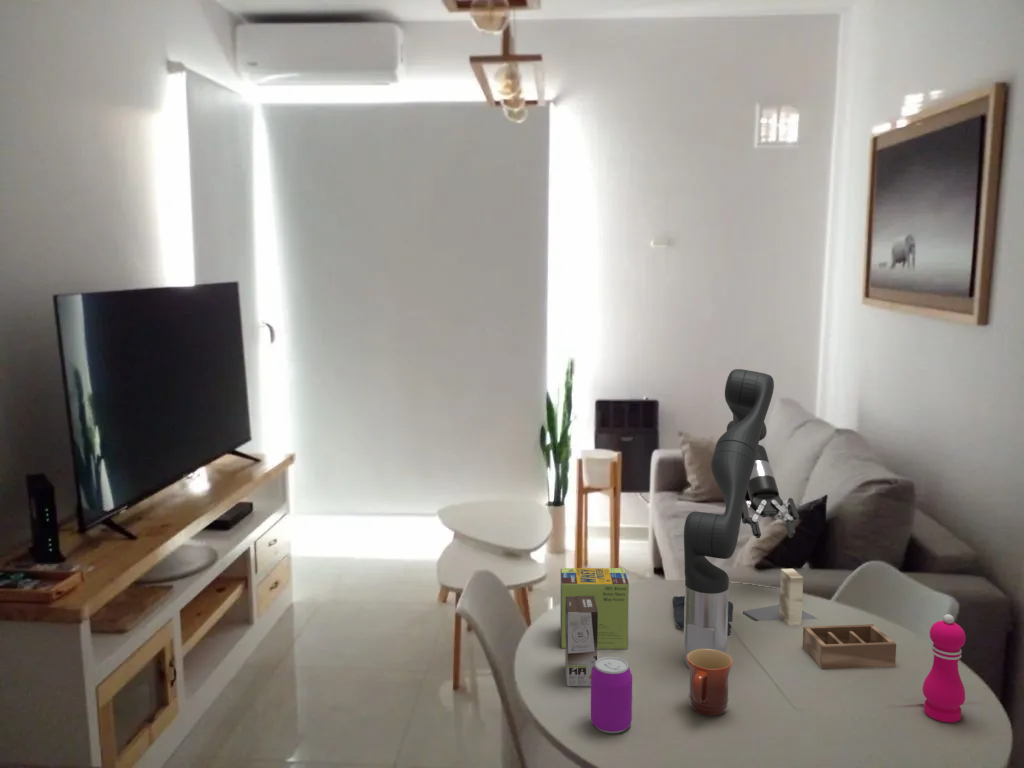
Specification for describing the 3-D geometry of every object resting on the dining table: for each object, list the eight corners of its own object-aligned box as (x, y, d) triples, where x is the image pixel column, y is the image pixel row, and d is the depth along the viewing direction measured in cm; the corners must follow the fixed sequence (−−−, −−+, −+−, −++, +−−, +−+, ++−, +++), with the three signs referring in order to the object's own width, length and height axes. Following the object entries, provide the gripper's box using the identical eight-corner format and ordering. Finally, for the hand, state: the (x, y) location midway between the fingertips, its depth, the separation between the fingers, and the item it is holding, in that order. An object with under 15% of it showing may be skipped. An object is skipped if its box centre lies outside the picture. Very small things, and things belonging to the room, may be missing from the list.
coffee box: (598, 687, 167) (598, 612, 165) (566, 686, 167) (566, 612, 165) (594, 666, 176) (594, 594, 174) (564, 666, 176) (564, 594, 174)
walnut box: (802, 651, 182) (803, 626, 181) (871, 648, 183) (872, 624, 182) (822, 672, 172) (823, 646, 171) (894, 669, 173) (896, 644, 172)
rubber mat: (840, 632, 191) (840, 630, 191) (792, 642, 186) (793, 640, 186) (787, 604, 208) (787, 602, 208) (742, 613, 203) (742, 611, 203)
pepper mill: (947, 728, 151) (954, 625, 148) (912, 710, 157) (918, 611, 154) (972, 718, 154) (979, 617, 151) (937, 701, 160) (943, 604, 158)
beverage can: (582, 725, 152) (582, 664, 151) (606, 709, 158) (606, 650, 156) (616, 740, 147) (616, 678, 146) (639, 723, 153) (640, 663, 151)
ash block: (779, 615, 200) (780, 568, 198) (791, 615, 200) (792, 568, 198) (789, 625, 194) (790, 577, 192) (801, 625, 194) (803, 577, 193)
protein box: (628, 649, 183) (629, 583, 181) (560, 649, 184) (560, 583, 182) (624, 629, 194) (624, 567, 192) (559, 629, 194) (559, 567, 192)
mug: (694, 693, 164) (695, 644, 163) (737, 704, 159) (738, 655, 158) (672, 720, 154) (673, 669, 153) (717, 733, 149) (719, 680, 148)
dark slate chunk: (666, 632, 193) (666, 613, 193) (673, 597, 214) (674, 580, 214) (732, 639, 189) (732, 620, 189) (733, 603, 210) (734, 586, 210)
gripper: (737, 474, 212) (751, 530, 203) (790, 473, 213) (807, 529, 203) (730, 489, 218) (744, 544, 208) (782, 488, 219) (798, 542, 209)
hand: (775, 536), depth 206 cm, fingers open, 8 cm apart
